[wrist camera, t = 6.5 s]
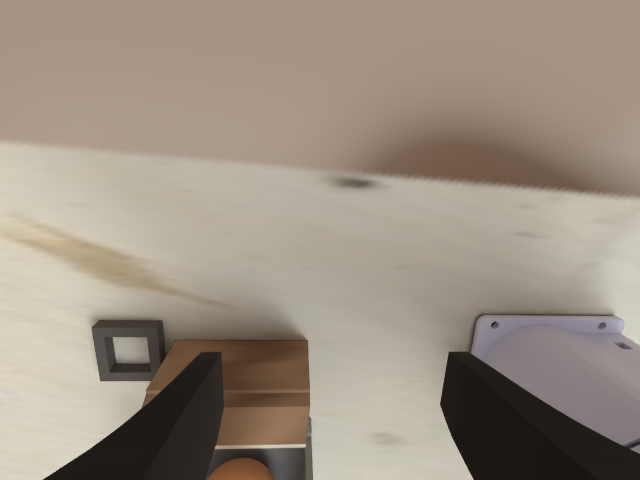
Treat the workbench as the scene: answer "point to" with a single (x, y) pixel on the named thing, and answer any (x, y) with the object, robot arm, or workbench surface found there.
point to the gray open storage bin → (273, 459)
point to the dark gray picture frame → (110, 329)
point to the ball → (242, 470)
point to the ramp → (252, 389)
